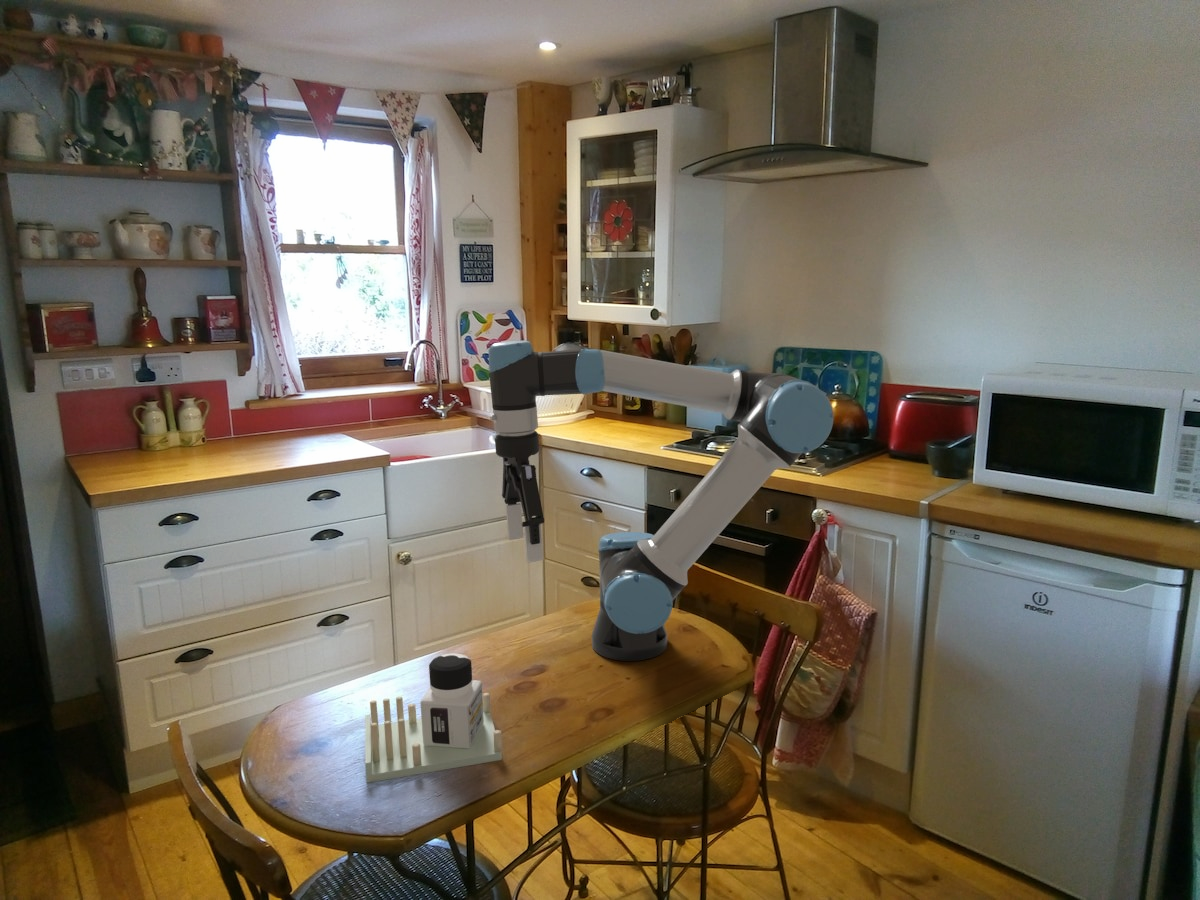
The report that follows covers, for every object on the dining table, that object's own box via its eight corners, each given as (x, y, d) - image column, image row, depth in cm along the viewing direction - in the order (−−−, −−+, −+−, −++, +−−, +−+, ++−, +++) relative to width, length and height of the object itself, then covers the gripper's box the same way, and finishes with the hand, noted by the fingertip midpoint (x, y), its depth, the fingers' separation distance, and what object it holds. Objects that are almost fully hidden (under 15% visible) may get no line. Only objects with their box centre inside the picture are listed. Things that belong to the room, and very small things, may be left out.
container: (470, 749, 126) (466, 672, 124) (422, 746, 127) (417, 669, 125) (484, 723, 134) (480, 649, 131) (439, 720, 135) (434, 647, 132)
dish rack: (490, 714, 139) (488, 675, 137) (503, 759, 126) (501, 716, 124) (366, 733, 134) (363, 692, 132) (366, 782, 120) (363, 738, 119)
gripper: (480, 423, 151) (489, 533, 156) (511, 447, 128) (521, 575, 132) (519, 419, 154) (527, 527, 158) (557, 441, 130) (565, 567, 135)
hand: (525, 549), depth 145 cm, fingers open, 13 cm apart
